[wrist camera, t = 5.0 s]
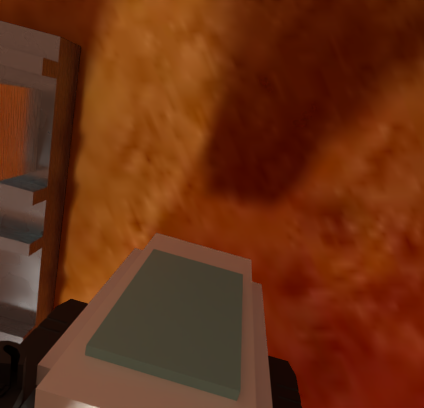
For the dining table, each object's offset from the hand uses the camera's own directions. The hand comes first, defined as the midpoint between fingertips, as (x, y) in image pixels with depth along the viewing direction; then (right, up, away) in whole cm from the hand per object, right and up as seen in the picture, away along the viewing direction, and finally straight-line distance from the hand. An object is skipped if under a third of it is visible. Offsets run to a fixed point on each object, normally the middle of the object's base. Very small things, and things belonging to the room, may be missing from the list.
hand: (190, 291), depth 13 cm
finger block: (0, 0, 0) cm, 0 cm away
